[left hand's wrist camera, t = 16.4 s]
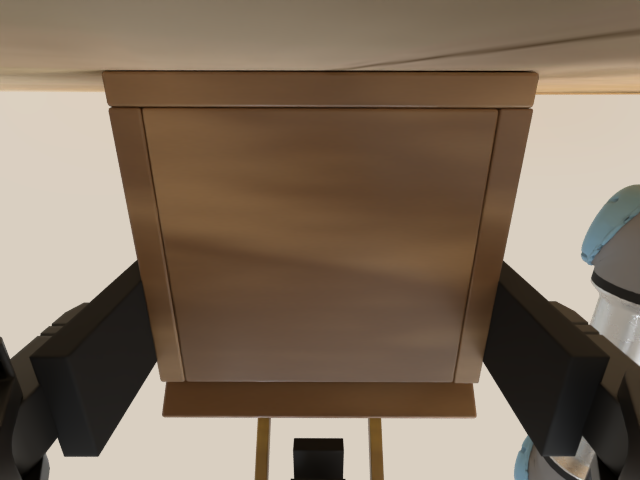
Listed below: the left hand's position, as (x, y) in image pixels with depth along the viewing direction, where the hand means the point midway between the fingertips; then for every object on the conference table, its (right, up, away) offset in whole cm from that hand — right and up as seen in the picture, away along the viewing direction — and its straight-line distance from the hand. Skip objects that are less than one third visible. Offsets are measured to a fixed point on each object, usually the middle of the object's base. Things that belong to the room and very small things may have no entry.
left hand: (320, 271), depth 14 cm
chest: (0, +7, +1) cm, 8 cm away
